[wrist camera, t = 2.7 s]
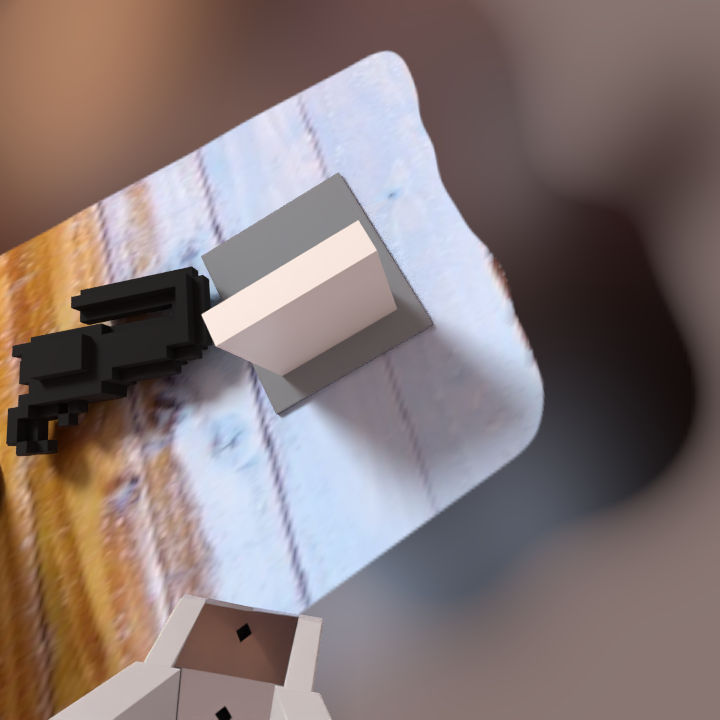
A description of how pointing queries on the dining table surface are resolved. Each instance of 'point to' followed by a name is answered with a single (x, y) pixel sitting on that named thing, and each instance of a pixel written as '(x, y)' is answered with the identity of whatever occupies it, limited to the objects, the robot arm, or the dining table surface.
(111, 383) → the tool
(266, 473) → the dining table surface
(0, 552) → the dining table surface
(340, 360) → the mat
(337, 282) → the tile
